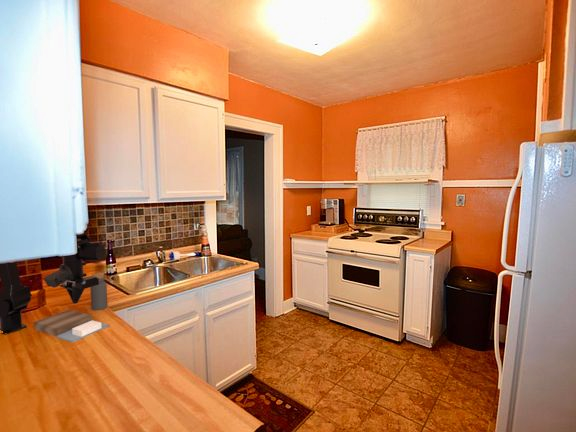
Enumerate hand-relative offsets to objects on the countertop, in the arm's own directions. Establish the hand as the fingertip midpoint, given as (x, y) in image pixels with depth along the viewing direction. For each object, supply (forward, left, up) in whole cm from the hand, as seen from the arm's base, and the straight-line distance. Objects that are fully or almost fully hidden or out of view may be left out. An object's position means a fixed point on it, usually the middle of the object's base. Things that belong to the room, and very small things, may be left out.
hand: (75, 303), depth 106 cm
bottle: (-12, +17, -10) cm, 23 cm away
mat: (+4, 0, -10) cm, 11 cm away
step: (-7, 0, -10) cm, 12 cm away
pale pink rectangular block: (+6, 0, -7) cm, 9 cm away
